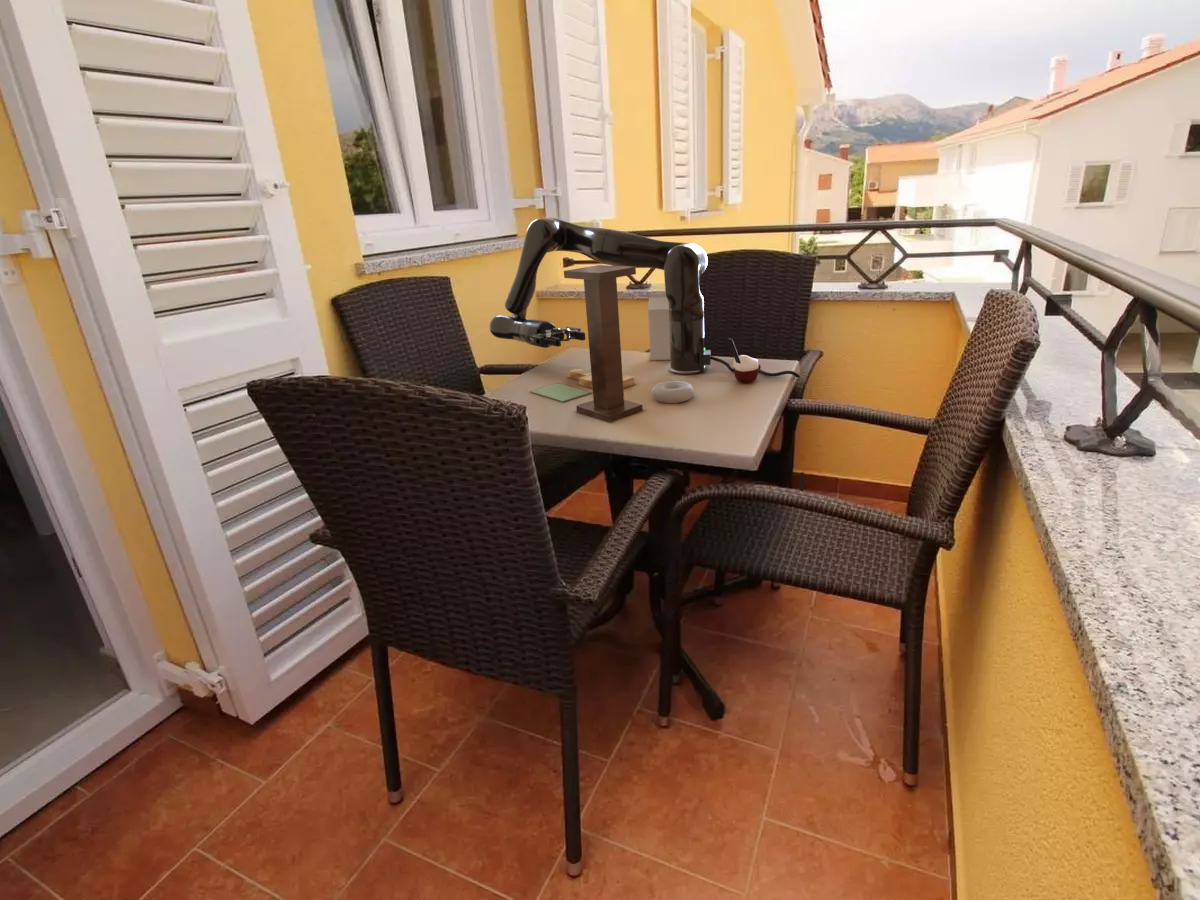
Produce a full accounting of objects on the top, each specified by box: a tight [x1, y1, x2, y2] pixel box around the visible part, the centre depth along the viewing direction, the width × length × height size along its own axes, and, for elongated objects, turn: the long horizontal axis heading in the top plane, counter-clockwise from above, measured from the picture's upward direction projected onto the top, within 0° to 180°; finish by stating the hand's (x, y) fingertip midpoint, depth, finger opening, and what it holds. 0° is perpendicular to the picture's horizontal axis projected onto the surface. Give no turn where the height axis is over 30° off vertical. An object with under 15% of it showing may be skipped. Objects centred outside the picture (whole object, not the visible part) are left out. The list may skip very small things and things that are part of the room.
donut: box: [651, 380, 695, 404], centre depth 150 cm, size 10×4×10 cm
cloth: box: [530, 382, 592, 403], centre depth 162 cm, size 14×9×1 cm, turn 40°
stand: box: [563, 264, 644, 423], centre depth 139 cm, size 12×10×32 cm
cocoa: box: [727, 337, 762, 384], centre depth 157 cm, size 10×6×12 cm, turn 96°
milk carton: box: [647, 292, 670, 361], centre depth 184 cm, size 7×7×19 cm
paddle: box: [568, 367, 635, 389], centre depth 168 cm, size 20×9×2 cm, turn 40°
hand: (572, 339), depth 171 cm, fingers open, 8 cm apart
